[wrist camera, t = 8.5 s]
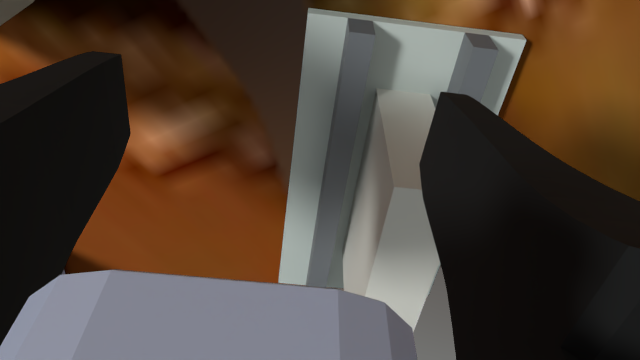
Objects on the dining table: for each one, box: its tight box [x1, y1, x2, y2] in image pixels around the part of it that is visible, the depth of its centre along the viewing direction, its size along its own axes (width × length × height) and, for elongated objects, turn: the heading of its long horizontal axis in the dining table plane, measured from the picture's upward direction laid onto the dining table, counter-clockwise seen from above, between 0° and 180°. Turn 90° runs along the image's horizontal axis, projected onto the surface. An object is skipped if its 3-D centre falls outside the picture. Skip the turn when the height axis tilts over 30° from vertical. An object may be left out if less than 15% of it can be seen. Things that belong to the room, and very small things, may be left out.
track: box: [278, 8, 527, 296], centre depth 25 cm, size 9×16×2 cm, turn 173°
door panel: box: [342, 88, 440, 332], centre depth 22 cm, size 2×10×7 cm, turn 173°
